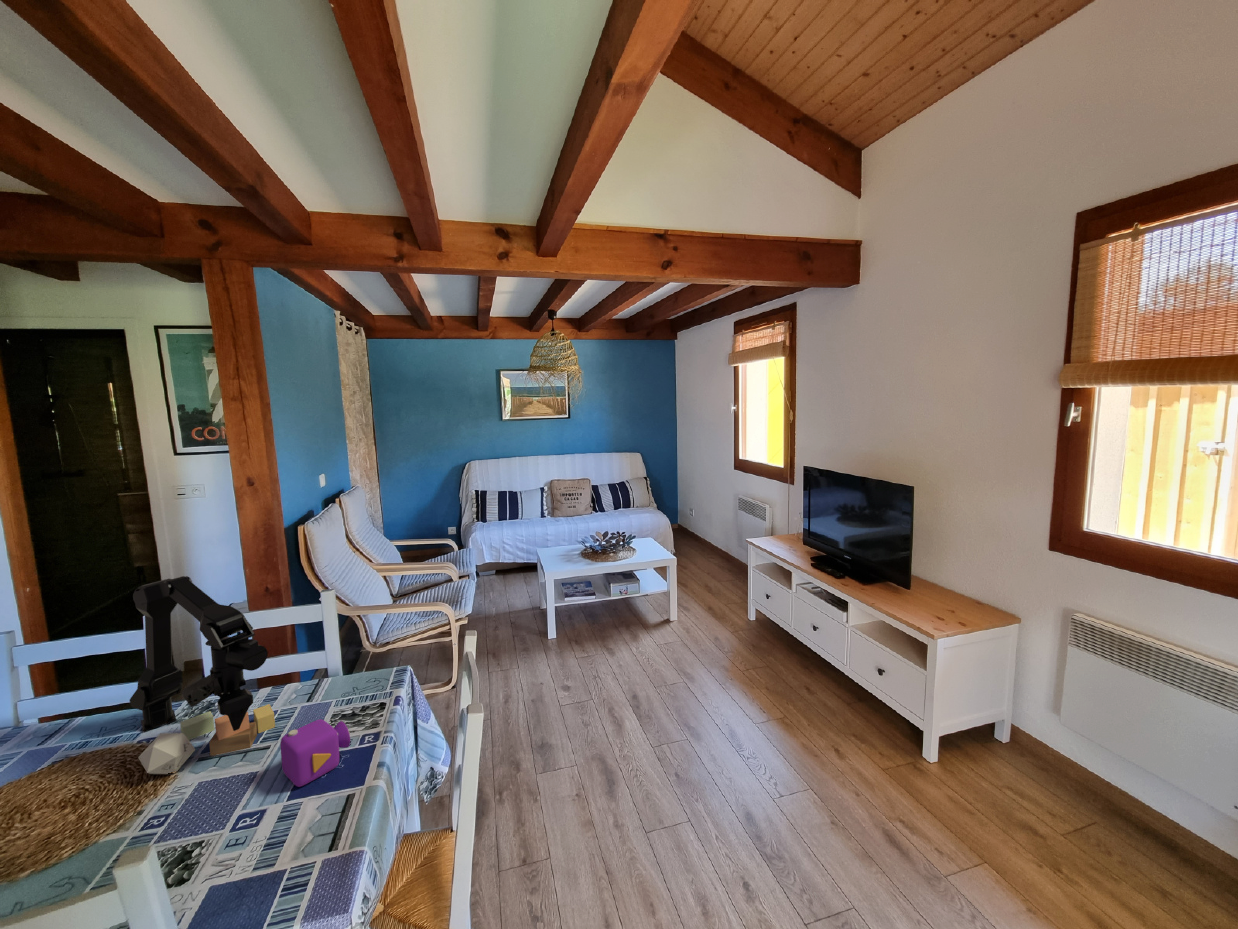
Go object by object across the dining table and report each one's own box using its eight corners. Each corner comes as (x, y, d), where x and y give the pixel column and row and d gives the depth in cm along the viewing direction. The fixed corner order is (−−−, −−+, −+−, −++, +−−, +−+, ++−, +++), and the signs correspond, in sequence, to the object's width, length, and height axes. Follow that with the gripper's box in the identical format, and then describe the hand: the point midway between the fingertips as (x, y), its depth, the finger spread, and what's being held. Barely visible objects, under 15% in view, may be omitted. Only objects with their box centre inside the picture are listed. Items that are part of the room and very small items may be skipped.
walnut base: (219, 744, 120) (217, 729, 120) (257, 736, 123) (255, 721, 123) (210, 757, 116) (209, 741, 115) (250, 748, 119) (249, 733, 118)
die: (148, 793, 105) (181, 749, 107) (119, 769, 106) (152, 727, 109) (181, 778, 113) (211, 738, 116) (154, 757, 114) (184, 717, 117)
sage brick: (181, 736, 123) (180, 722, 123) (211, 725, 128) (210, 711, 127) (184, 742, 121) (182, 727, 120) (214, 730, 125) (213, 716, 125)
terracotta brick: (215, 734, 118) (214, 719, 118) (245, 722, 123) (244, 707, 122) (219, 740, 116) (217, 725, 115) (249, 728, 120) (248, 713, 120)
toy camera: (360, 754, 116) (358, 716, 115) (303, 794, 104) (300, 751, 103) (331, 742, 121) (329, 704, 120) (274, 778, 108) (271, 737, 108)
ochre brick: (258, 733, 124) (257, 719, 124) (254, 723, 128) (253, 709, 128) (275, 727, 127) (274, 713, 126) (270, 717, 131) (269, 704, 130)
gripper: (178, 662, 118) (184, 721, 119) (188, 691, 105) (195, 756, 107) (235, 646, 126) (240, 701, 127) (251, 671, 113) (256, 732, 115)
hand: (232, 722), depth 119 cm, fingers open, 9 cm apart
